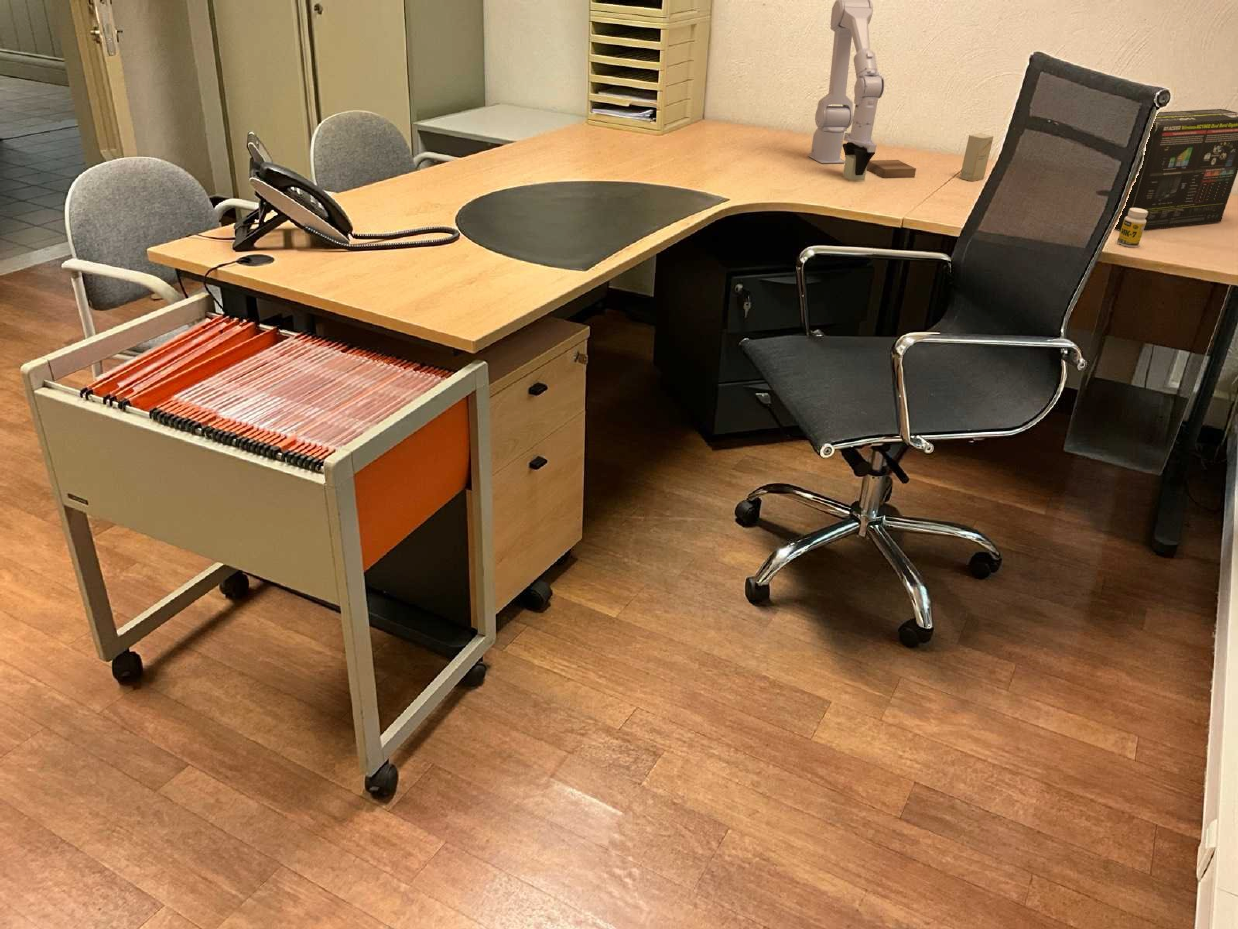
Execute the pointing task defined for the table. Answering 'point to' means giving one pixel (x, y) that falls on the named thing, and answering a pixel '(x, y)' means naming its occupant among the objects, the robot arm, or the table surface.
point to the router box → (1186, 169)
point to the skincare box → (976, 157)
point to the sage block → (852, 169)
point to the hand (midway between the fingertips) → (854, 172)
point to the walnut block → (891, 169)
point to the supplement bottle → (1132, 227)
